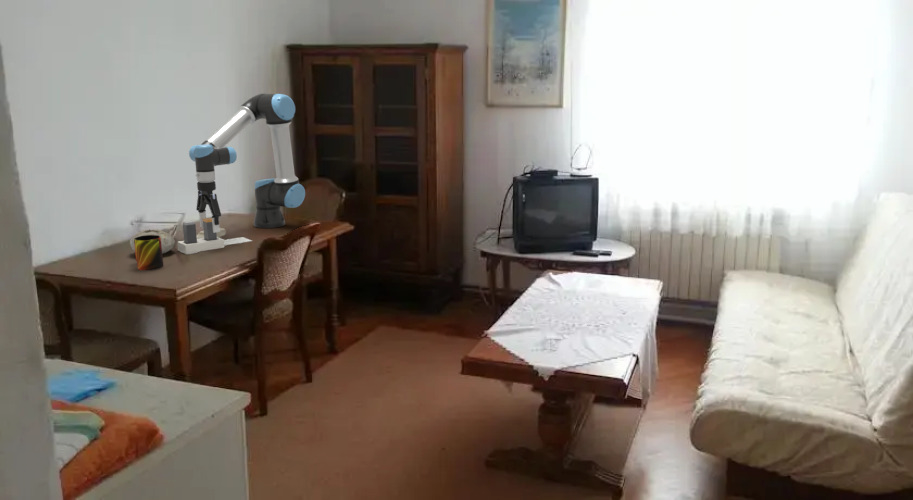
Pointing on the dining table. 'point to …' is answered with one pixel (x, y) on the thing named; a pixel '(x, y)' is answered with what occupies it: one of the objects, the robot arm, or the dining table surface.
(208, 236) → the plug
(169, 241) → the grey stone
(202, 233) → the electrical outlet
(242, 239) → the tray
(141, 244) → the mug
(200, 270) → the dining table surface
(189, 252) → the socket strip
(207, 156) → the robot arm
